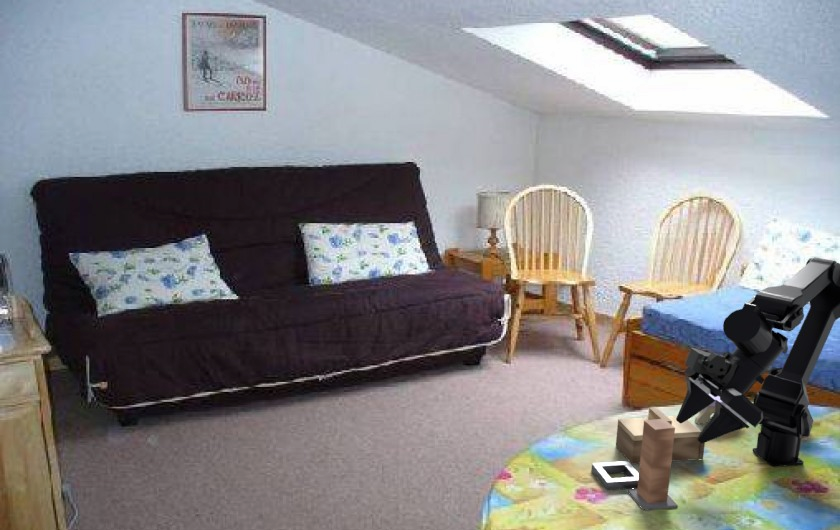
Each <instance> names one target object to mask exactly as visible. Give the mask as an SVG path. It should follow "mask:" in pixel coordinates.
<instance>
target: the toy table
mask: <svg viewBox="0 0 840 530" xmlns="http://www.w3.org/2000/svg"><path fill="white" fill-rule="evenodd" d="M708 395H709V396H711V397H712V398H713V399H714V400H717V401H718V402H720V403H721V404H722V405H725V403H724V402H722V401H721V400H720V397H719V396H717V397H714V396H713V395H711V394H710V393H709V394H708ZM714 413H715V402H713V403H712V404H710V405H709V406H707V407H706V408H704V409H703V410H701V411H700V412H699V413H698V414H697V416H695V418H694V423H695V422H696V423H703V424H707V423H708V422H709V420H710V418H711V417H712V416H713V415H714ZM696 423H695V424H696Z"/></svg>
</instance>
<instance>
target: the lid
mask: <svg viewBox="0 0 840 530" xmlns="http://www.w3.org/2000/svg"><path fill="white" fill-rule="evenodd" d="M677 416H678V415H666V414H665V413H664V412H662V411H661V410H660V409H659V408H658V407H656V406H655V407H649V408H648V417H633V418H618V419H617V426H618V425H619V426H620V427H621V428H622V429H623V430H624V431H625V432H626V433H627V434H628V435H629V436H630V437H631V438H632V439H633V440H634V441H639V440H642V437H643V427H644V420H654V419H664V420H666V421H667V422H668V423H670V424H671V425H672V426H673V427H675V433H674V438H688V437H699V435H700V433H701V432H702V430H700V429H699V428H698V427H697V426H695V425H694V423H692V422H691V421H690V420H689V419H688V420H686V421H685V422H683V423H679V422H678V421H677V420H676V418H677Z"/></svg>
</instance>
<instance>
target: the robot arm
mask: <svg viewBox="0 0 840 530" xmlns="http://www.w3.org/2000/svg"><path fill="white" fill-rule="evenodd" d="M808 303H809V305H810V307H809V309H808V312H807V314H806V316H805V314H804V307H805V306H806V305H808ZM804 317H805V318H804ZM839 319H840V263H839V262H837V261H836V260H831V259H825V258H819V257H813V258H812V257H810V258H808V259H807V261H806V264H805V265H804V266H803V267H802V268H801V269H799V271H798V272H796V273H795V274H794V275H792V276H791V277H790V278H789V279H788V280H786V281H785V282H784V283H783V284H781V285H778V286H769V287H765V288H763V289H762V290H760V291H759V292H757V293H756V294H755V295H754V296H753V297H752V298H751V299H750V300H749V301H748V302H744V304H743V306H742V308H739V309H736V310H735V311H732V312H730V314H728V316H727V317H725V319H724V321H723V325H722V327H723V332H724V335H725V336H726V338H727V339H728V340H730V341H731V343H732V344H733V345H734V346H735V347H736V348H735V350H733V352H732V353H731V352H730V351H725V352H723V353H722V354H718V353H715V352H714V351H713V352H711V353H710V352H707V351H704V350H701V349H698V348H695V347H690V350H689V353H688V355H687V357H686V360H685V363H684V366H686V367H687V368H686V369H685V370H684V371H683V372H684V374H685V376H684V380H685V381H686V387H687V391H686V394H685V397H684V399H683V401H682V405H681V406H680V408H679V411H678V413H677V415H676V416H677V418H676V420H677V421H678V422H679V423H683V422H685V421H686V420H688V421H689V420H690V419H691V418H692V417H694V416H695V415H698V414H699V413H700V411H701V410H703V409H704V408H706V407H707V406H709V405H710V404H712V403H713V402H715V413H713V414H712V415H711V417H710V418H709V419H708V423H706V425H705V426H704V427H703V429H702V430H701V433H700V435H699V437H698V438H697V440H698V441H699V442H700V443H702V444H703V443H705V444H706V443H707V442H710V441H712V440H715V439H717V438H720V437H722V436H725V435H727V434H730V433H733V432H735V431H738V430H742V429H745V428H746V429H749V428H750V426H749V425H751V426H752V427H754V428H756V427H758V425H761V427H760V432H758V434H757V435H758V436H757V441H756V447H753V448H752V452H753V453H754V454H756V455H757V456H758V457H759V458H760V459H762V460H763V461H764V462H765V463H767V464H768V465H769V466H770V467H774V468H775V467H789V466H790V467H791V466H802V465H804V462H805V461H804V460H802V459H801V458H799V455H800V451H801V450H800V449H801V442H802V438H805V437H807V438H809V437H810V435H811V431H812V428H813V422H814V419H813V416H812V414H811V412H810V410H809V406H810V401H809V400H810V399H809V396H808V391H807V386H808V382H809V380H810V378H811V376H812V374H813V371H814V369H815V368H816V364H817V363H818V360H819V358H820V355H822V351H823V349H824V346H825V345H826V342H827V340H828V338H829V335H830V333H831V331H832V328H833V326H834V324H835V322H836V320H839ZM802 321H803V322H802ZM800 324H802V325H801V327H800V329H799V331H798V333H797V335H796V338H795V340H794V341H793V344H792V347H791V349H790V351H789V353H788V350H789V346H788V340H789V338H788V337H787V336H785V335H783V334H782V333H781V332H778V331H777V332H776V331H775V330H773V329H776V330H779V331H785V332H792V331H794V330H795V328H796V327H798V326H799V325H800ZM787 353H788V354H787ZM781 354H784V355H785V354H787V358H786V359H785V361H784V364H783V366H782V367H783V368H782V367H781V368H782V370H781V372H780V373H779V374H777V375H775V376H773V375H769V374H768V375H767V376H766V377H765V378H764V377H763V375H764V373H765V372H766V371H767V370H768V369H769V368H770V366H772V365H773V363H774V362H775V361H776V360H777V359H778V357H779V356H781ZM686 375H687V376H688V377H687V376H686ZM756 383H758V384H760V385H762V386H761V387H760V389H759V390H758V392H757V393H756V394H755V396H754V399H753V402H752V401H751V400H750V399H749V397H747V395H746V394H747V393H748V392H749V391H750V389H751V388H752V387H753V386H754V385H755V384H756ZM709 393H710V394H711V395H713V396H714V397H717V396H719V397H720V400H721V401H722V402H724V403H725V405H722V404H721V403H720V402H718V401H717V400H714V399H713V398H712V397H711V396H709V395H708V394H709ZM748 424H749V425H748Z"/></svg>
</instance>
